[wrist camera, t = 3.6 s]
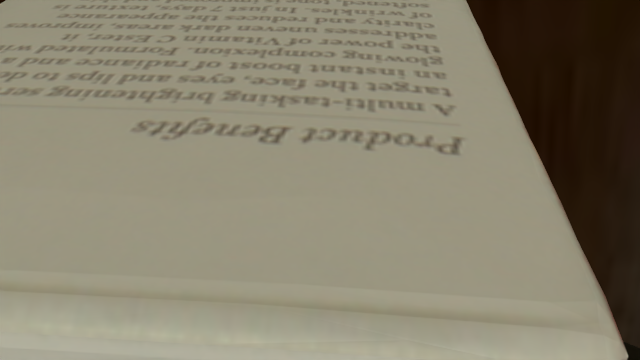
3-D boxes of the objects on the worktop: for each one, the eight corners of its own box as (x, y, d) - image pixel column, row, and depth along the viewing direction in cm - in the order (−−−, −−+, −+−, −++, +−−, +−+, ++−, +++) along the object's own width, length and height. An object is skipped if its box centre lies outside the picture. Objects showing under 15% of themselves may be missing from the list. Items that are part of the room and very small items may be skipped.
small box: (402, 229, 15) (442, 785, 7) (201, 219, 16) (-2, 738, 7) (438, -92, 11) (693, 375, 2) (153, -96, 11) (-570, 295, 3)
